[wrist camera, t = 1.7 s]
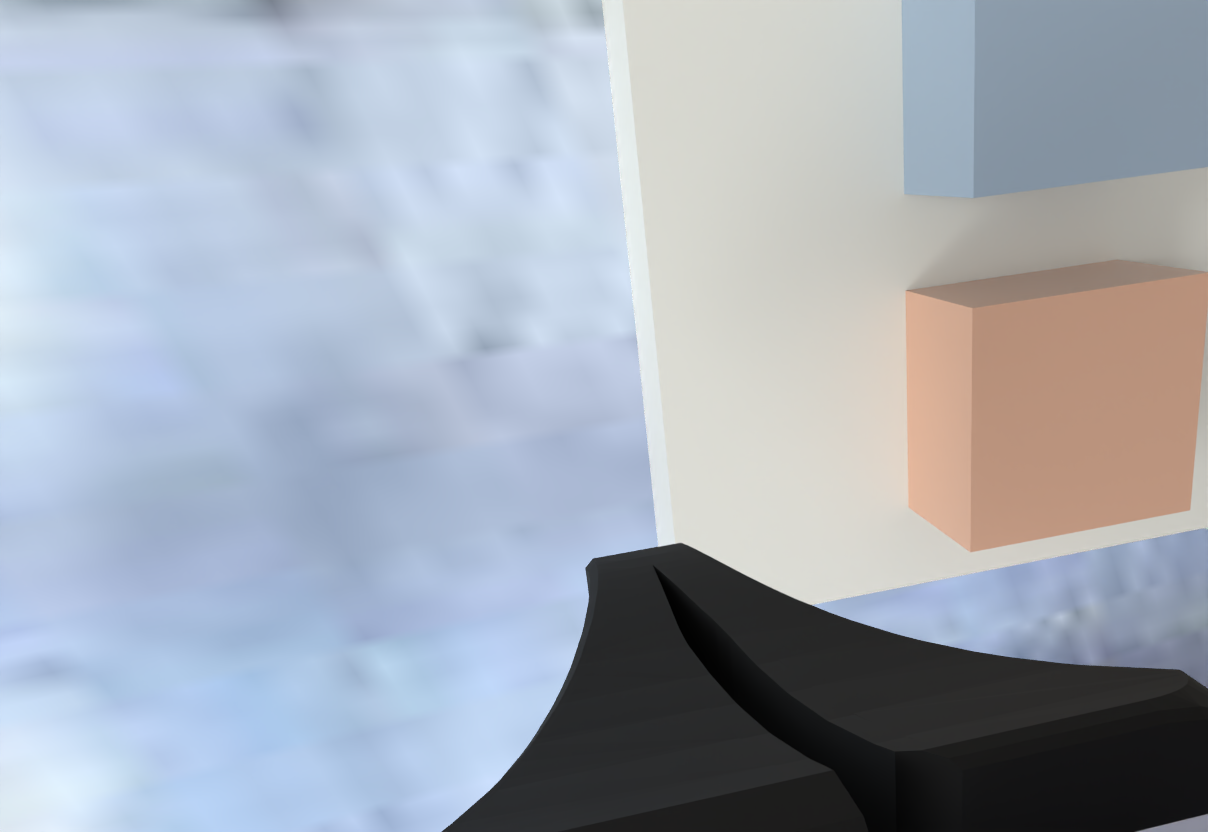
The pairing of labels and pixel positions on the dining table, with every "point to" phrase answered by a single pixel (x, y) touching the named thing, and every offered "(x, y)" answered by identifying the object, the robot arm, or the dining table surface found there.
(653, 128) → the board
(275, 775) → the dining table surface
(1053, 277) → the tile terracotta
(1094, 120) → the tile slate
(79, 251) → the dining table surface
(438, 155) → the dining table surface
